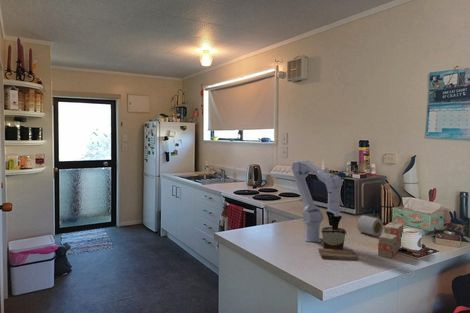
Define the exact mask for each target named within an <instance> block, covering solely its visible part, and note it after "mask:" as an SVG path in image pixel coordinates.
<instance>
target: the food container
mask: <svg viewBox="0 0 470 313" xmlns="http://www.w3.org/2000/svg"><path fill="white" fill-rule="evenodd" d="M320 234H322V243H323V244H322V245H323V246H322V247H323V249H344V245H345V240H346V239H345V237H346V235H347V230H346V229H344V228H341V227H338V229H337V230H333V228H332V226H324V227H322V228H321V231H320Z"/></svg>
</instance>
